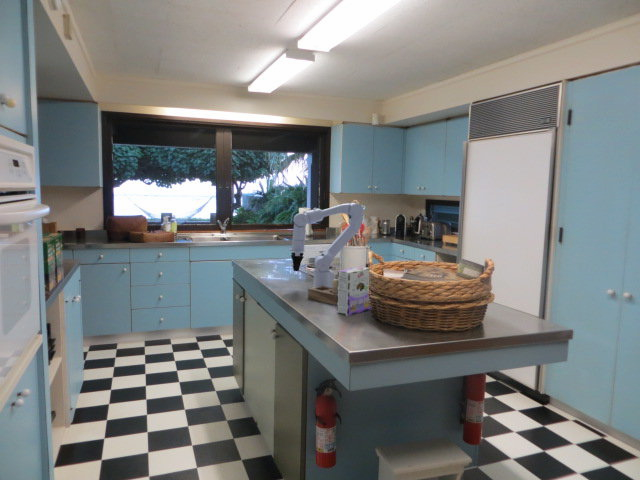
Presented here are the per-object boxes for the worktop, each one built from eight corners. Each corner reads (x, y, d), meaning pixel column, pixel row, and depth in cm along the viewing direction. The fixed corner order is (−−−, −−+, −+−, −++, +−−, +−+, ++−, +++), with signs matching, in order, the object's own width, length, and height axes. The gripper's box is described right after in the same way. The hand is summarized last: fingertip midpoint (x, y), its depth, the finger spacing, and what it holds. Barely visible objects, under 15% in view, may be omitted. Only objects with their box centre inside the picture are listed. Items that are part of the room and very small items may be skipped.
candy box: (360, 306, 184) (361, 265, 182) (371, 309, 179) (372, 267, 178) (336, 313, 174) (337, 270, 172) (348, 316, 170) (348, 272, 168)
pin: (335, 297, 193) (336, 279, 192) (340, 299, 191) (341, 280, 190) (330, 298, 191) (330, 279, 190) (335, 300, 189) (335, 281, 188)
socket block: (322, 294, 203) (322, 285, 202) (350, 301, 192) (350, 291, 191) (308, 298, 196) (308, 288, 196) (335, 305, 185) (335, 295, 185)
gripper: (290, 237, 215) (287, 266, 217) (289, 240, 201) (286, 271, 202) (305, 238, 216) (302, 267, 217) (305, 242, 201) (302, 272, 203)
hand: (296, 269), depth 210 cm, fingers open, 7 cm apart
